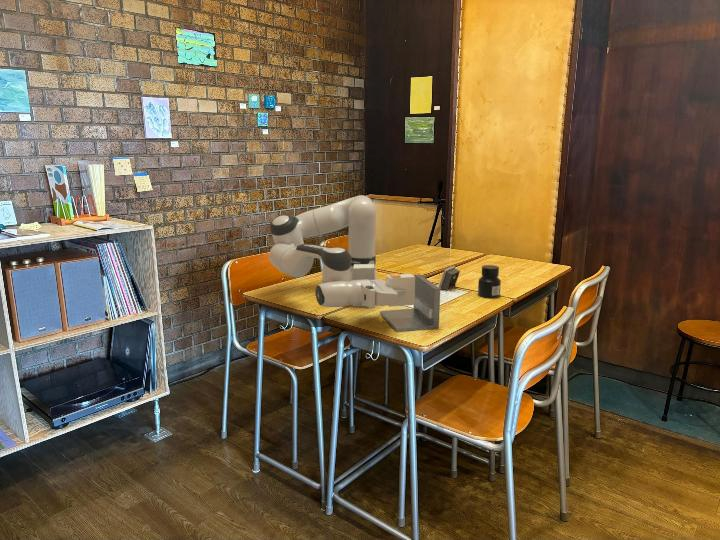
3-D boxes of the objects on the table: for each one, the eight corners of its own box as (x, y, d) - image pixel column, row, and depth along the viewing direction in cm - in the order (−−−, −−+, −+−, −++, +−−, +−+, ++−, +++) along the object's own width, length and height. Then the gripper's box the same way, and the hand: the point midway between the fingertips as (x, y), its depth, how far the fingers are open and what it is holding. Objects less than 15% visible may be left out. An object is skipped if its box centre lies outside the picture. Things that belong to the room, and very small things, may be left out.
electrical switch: (447, 285, 241) (450, 264, 238) (458, 288, 238) (461, 267, 235) (437, 289, 233) (440, 269, 231) (448, 293, 231) (451, 271, 228)
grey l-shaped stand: (396, 331, 183) (397, 291, 179) (380, 313, 202) (380, 276, 198) (438, 328, 186) (440, 288, 183) (418, 310, 205) (419, 274, 202)
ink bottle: (498, 299, 219) (500, 270, 216) (476, 297, 222) (477, 268, 219) (501, 293, 228) (503, 265, 225) (479, 291, 231) (481, 263, 228)
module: (389, 306, 188) (389, 276, 186) (385, 302, 192) (386, 273, 190) (414, 304, 190) (415, 275, 188) (410, 301, 194) (410, 272, 192)
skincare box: (375, 302, 215) (375, 263, 212) (375, 307, 209) (375, 267, 205) (353, 302, 216) (353, 263, 212) (353, 307, 209) (353, 267, 205)
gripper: (357, 293, 198) (393, 290, 201) (371, 309, 178) (412, 307, 182) (357, 276, 196) (394, 274, 199) (371, 291, 177) (412, 288, 180)
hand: (402, 289), depth 190 cm, fingers closed on module, 4 cm apart
